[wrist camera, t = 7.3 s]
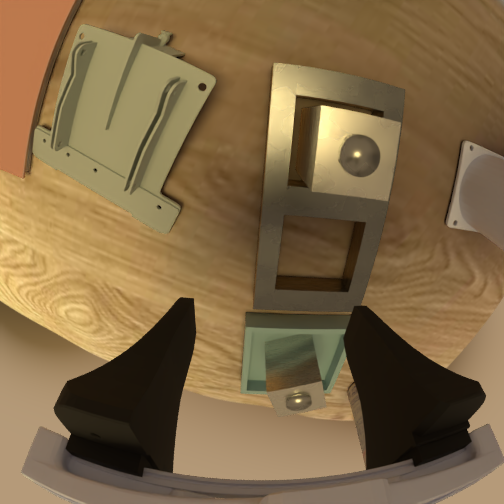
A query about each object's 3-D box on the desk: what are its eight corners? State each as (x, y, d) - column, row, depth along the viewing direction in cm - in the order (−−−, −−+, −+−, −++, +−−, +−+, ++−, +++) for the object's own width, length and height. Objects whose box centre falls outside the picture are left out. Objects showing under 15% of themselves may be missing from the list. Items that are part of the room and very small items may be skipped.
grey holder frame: (392, 90, 16) (405, 89, 15) (352, 298, 25) (358, 311, 23) (271, 67, 16) (273, 62, 14) (253, 294, 24) (253, 308, 23)
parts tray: (351, 315, 25) (357, 328, 24) (327, 379, 30) (330, 393, 28) (245, 312, 25) (245, 327, 23) (241, 379, 30) (240, 393, 28)
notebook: (33, -61, 5) (24, -65, 3) (146, -83, 8) (140, -93, 6) (-44, 142, 17) (-54, 146, 15) (34, 173, 20) (21, 179, 18)
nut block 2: (361, 118, 18) (404, 123, 12) (354, 177, 20) (391, 203, 14) (301, 108, 18) (323, 105, 12) (295, 169, 20) (313, 193, 14)
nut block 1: (310, 331, 26) (322, 384, 20) (316, 360, 28) (327, 410, 22) (264, 341, 26) (266, 396, 21) (275, 369, 28) (278, 420, 23)
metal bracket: (50, 9, 9) (250, 87, 12) (100, 8, 13) (264, 77, 17) (19, 173, 18) (154, 258, 21) (59, 146, 22) (180, 215, 25)
